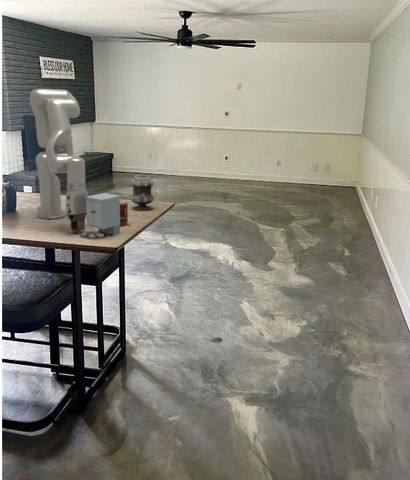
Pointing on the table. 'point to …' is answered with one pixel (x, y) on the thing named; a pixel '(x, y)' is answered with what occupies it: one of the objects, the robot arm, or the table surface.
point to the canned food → (123, 213)
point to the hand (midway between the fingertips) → (78, 227)
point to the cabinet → (104, 212)
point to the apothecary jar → (142, 192)
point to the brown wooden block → (83, 225)
